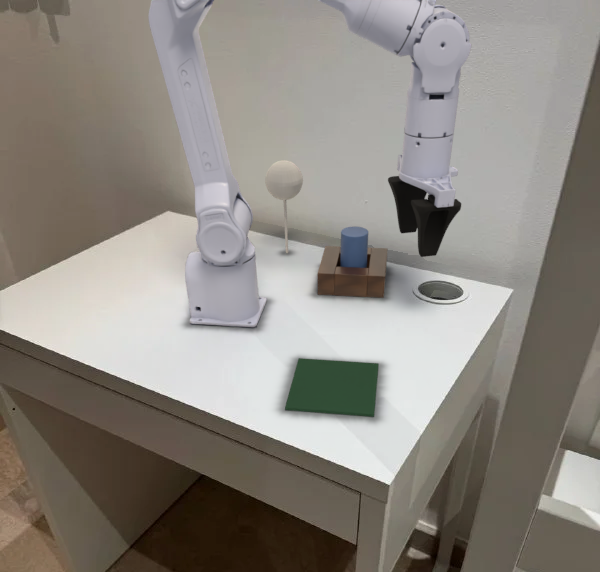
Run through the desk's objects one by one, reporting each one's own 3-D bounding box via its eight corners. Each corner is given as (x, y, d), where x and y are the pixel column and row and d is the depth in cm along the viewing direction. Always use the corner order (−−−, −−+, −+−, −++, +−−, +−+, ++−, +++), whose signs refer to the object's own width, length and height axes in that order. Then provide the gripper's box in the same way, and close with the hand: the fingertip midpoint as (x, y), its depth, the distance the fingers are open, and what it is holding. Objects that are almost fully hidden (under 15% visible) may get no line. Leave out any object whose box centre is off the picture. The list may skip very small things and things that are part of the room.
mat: (285, 410, 67) (284, 407, 66) (298, 360, 74) (298, 358, 74) (374, 417, 65) (374, 414, 65) (378, 365, 73) (378, 363, 73)
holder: (317, 294, 88) (317, 273, 86) (325, 266, 96) (325, 245, 93) (383, 298, 87) (385, 276, 84) (386, 268, 94) (387, 248, 92)
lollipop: (311, 255, 99) (309, 162, 90) (280, 263, 97) (275, 169, 88) (293, 242, 103) (290, 153, 94) (263, 250, 101) (257, 159, 92)
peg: (338, 286, 90) (339, 236, 85) (341, 274, 93) (342, 225, 88) (365, 287, 89) (367, 237, 84) (366, 276, 92) (369, 226, 87)
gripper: (488, 145, 64) (469, 263, 72) (438, 115, 75) (427, 219, 83) (425, 151, 63) (413, 269, 71) (385, 119, 74) (378, 224, 82)
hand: (417, 243), depth 77 cm, fingers open, 7 cm apart
